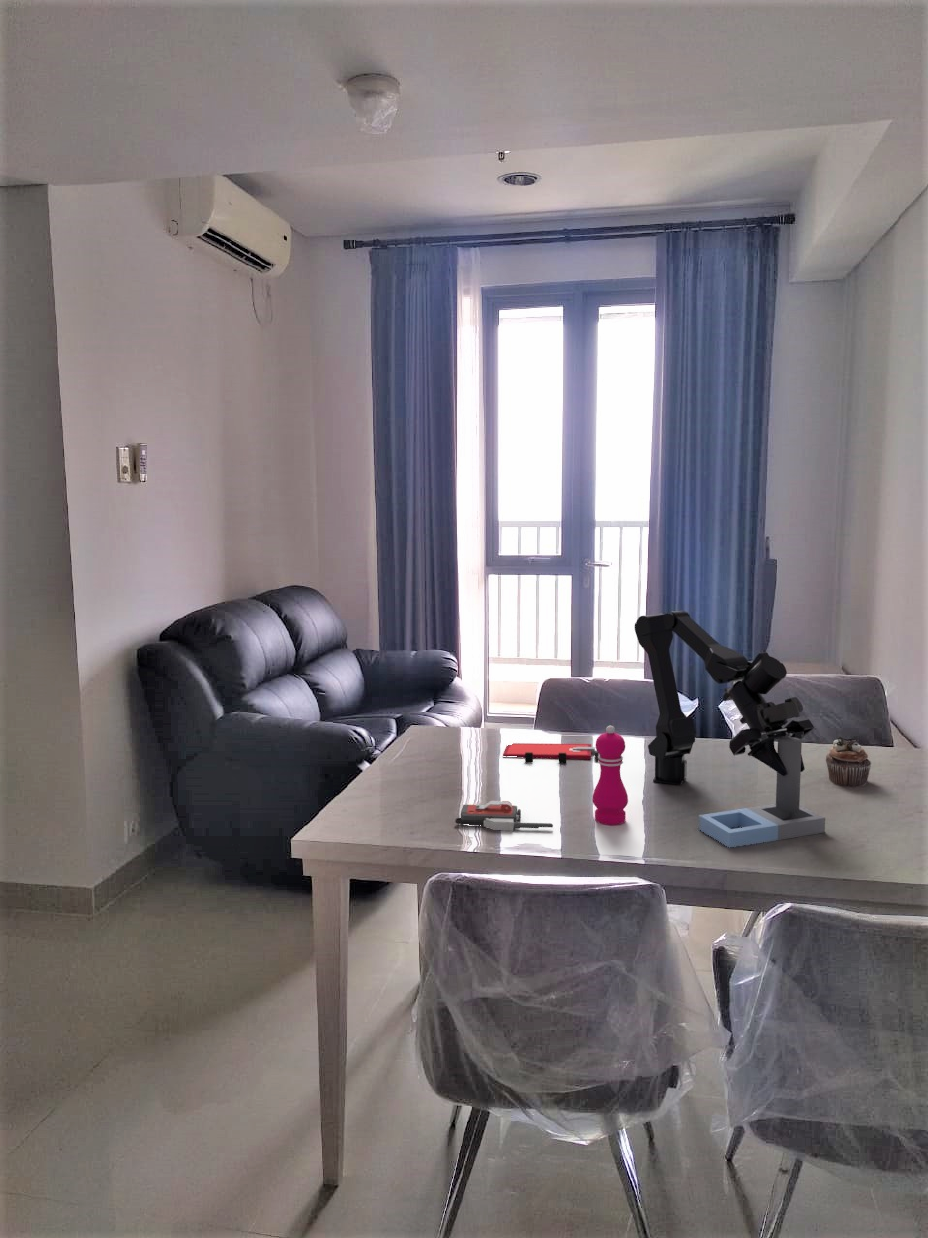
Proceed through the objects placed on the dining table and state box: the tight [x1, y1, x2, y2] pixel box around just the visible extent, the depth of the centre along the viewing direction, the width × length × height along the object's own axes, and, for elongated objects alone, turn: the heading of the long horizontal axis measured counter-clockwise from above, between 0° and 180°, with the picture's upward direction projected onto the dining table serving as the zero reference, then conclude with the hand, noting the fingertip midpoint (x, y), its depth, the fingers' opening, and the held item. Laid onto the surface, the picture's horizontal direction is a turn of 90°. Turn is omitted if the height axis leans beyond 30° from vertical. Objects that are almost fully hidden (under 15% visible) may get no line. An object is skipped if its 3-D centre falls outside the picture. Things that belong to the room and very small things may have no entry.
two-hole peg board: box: [698, 803, 826, 849], centre depth 172 cm, size 22×10×3 cm, turn 108°
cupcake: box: [825, 737, 872, 788], centre depth 200 cm, size 10×10×10 cm
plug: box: [775, 737, 803, 812], centre depth 172 cm, size 4×4×14 cm
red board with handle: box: [502, 742, 600, 764], centre depth 226 cm, size 30×3×15 cm
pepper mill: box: [592, 725, 629, 826], centre depth 178 cm, size 7×7×20 cm
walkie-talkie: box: [454, 800, 554, 832], centre depth 179 cm, size 9×4×20 cm
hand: (794, 773), depth 171 cm, fingers closed on plug, 4 cm apart
